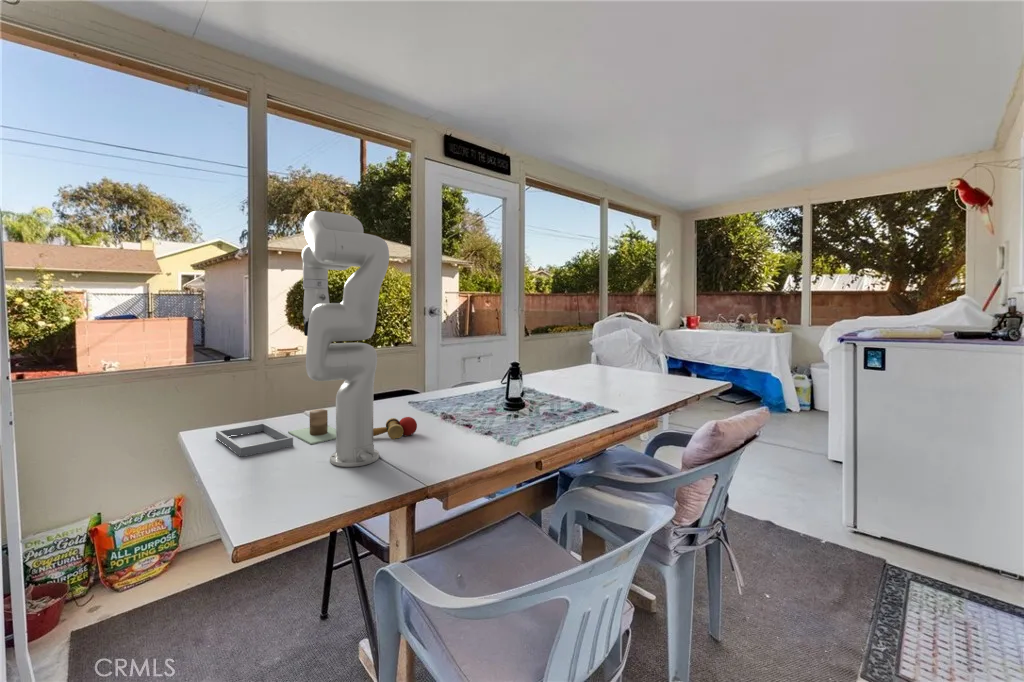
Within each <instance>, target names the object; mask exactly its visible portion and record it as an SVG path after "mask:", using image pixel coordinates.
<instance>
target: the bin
mask: <svg viewBox="0 0 1024 682" xmlns="http://www.w3.org/2000/svg"><path fill="white" fill-rule="evenodd" d="M261 431H264V433H265V434H267V435H269V436H270V437H271V438H272V437H273V438H274V439H275V440H270V441H265V442H260V443H256V444H251V445H245V446H243V445H242V444H240V443H238V442H237V441H236V440H234V439H232V437H230V438H229V437H228V436H231V435H241V434H247V435H249V434H248V433H252V434H256V433H255V432H258V433H262V432H261ZM241 436H242V435H241ZM215 437H216V438H217V439H219V440H220V441H221V442H223V443H224V444H226V445H227V446H228V447H230V448H231V449H232V450H233V451H235V452H236V453H237V454H238V455H237V454H236V453H235V454H236V455H237V456H239V455H240V456H244V457H247V456H246V455H249V456H252V455H251V454H253V455H257V454H256V453H258V454H262V453H261V452H263V453H267V452H271V450H272V451H275V450H276V449H277V450H280V449H285V447H286V448H291V447H294V437H292V435H290V434H287V433H285V432H283V431H281V430H279V429H277V428H275V427H274V426H272V425H270V424H267V423H266V422H263V423H262V422H261V423H256V424H251V425H250V424H249V425H245V426H238V427H233V428H225V429H221V430H216V431H215ZM216 438H215V439H216ZM217 439H216V440H217ZM221 442H220V443H221ZM290 446H291V447H290ZM228 447H227V448H228ZM232 450H231V451H232ZM233 451H232V452H233ZM240 456H239V457H240Z"/></svg>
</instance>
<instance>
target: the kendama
mask: <svg viewBox="0 0 1024 682" xmlns="http://www.w3.org/2000/svg"><path fill="white" fill-rule="evenodd" d="M417 429H418V423H417V421H416V420H415V418H413V417H411V416H404V417H403V418H401V419H400V420H399V419H398V418H396V417H391V418H389V419H388V420H387V421H386V423H385V426H384V427H375V428H374V427H373V437H375V436H379V435H382V434H383V435H384V434H385V433H387V436H388V437H389V438H390V439H391V440H396V439H395V438H399V439H401V438H402V436H405V435H406V437H408V435H409V436H411V435H414V434H415V433H416V431H417Z"/></svg>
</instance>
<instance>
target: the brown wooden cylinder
mask: <svg viewBox="0 0 1024 682" xmlns="http://www.w3.org/2000/svg"><path fill="white" fill-rule="evenodd" d="M328 417H329V416H328V410H327V409H325V408H324V409H323V408H321V409H320V408H319V409H318V408H317V409H312V410H310V411H309V427H310V435H314V436H319V435H324V434H327V433H328V426H329V425H328V423H329V421H328Z"/></svg>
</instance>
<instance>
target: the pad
mask: <svg viewBox="0 0 1024 682" xmlns="http://www.w3.org/2000/svg"><path fill="white" fill-rule="evenodd" d="M287 433H288V435H290V436H294V437H295V438H297V439H299V440H301V441H303V442H304V443H307V444H309V445H314V444H316V445H317V444H319V443H325V442H328V440H330V441H333V440H332V439H334V440H336V428H334V427H332V426H330V425H328V433H327V434H324V435H319V436H314V435H310V426H309V427H306V428H298V429H294V430H288V432H287ZM324 441H325V442H324Z"/></svg>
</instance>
